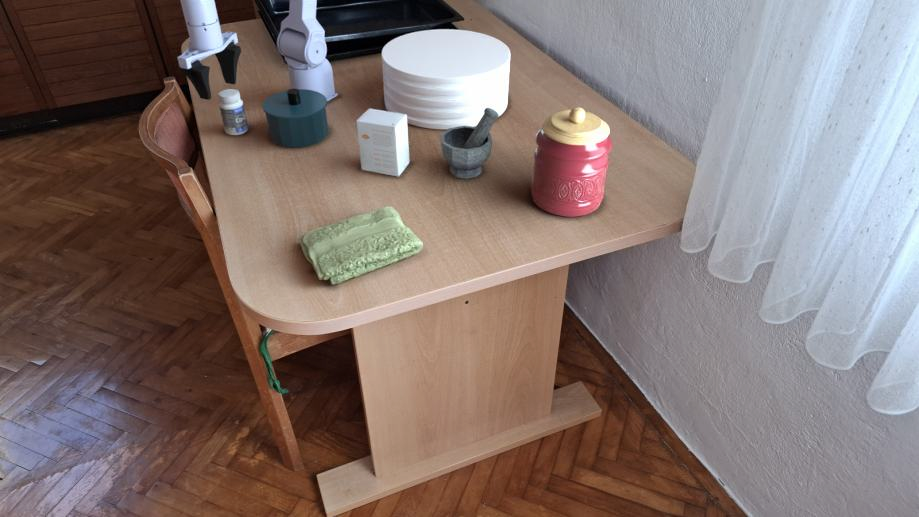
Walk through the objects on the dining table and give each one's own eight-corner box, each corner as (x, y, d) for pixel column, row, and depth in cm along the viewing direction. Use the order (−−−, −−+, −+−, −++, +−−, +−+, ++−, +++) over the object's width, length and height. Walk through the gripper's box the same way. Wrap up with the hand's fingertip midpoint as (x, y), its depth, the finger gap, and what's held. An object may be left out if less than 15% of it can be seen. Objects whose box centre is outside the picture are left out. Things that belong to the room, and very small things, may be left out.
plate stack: (482, 70, 164) (484, 24, 156) (526, 119, 143) (530, 68, 136) (372, 83, 156) (369, 36, 149) (402, 137, 136) (399, 85, 129)
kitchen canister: (584, 227, 112) (599, 134, 101) (517, 203, 117) (524, 113, 106) (613, 192, 120) (629, 103, 109) (549, 172, 126) (559, 85, 115)
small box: (410, 163, 128) (408, 113, 121) (398, 177, 124) (396, 127, 117) (372, 156, 130) (368, 107, 123) (360, 170, 125) (355, 119, 119)
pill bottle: (242, 136, 135) (234, 98, 130) (221, 134, 136) (212, 96, 131) (252, 126, 139) (244, 89, 134) (231, 124, 140) (223, 86, 134)
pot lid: (279, 91, 139) (276, 75, 137) (336, 97, 137) (334, 81, 135) (252, 118, 129) (248, 101, 127) (313, 125, 127) (311, 108, 125)
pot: (284, 118, 142) (279, 90, 138) (336, 124, 140) (333, 95, 136) (260, 144, 133) (255, 114, 129) (315, 150, 131) (311, 121, 127)
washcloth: (294, 244, 107) (292, 228, 105) (393, 215, 114) (392, 199, 112) (322, 291, 98) (320, 275, 96) (427, 256, 105) (427, 240, 103)
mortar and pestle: (450, 187, 121) (450, 128, 114) (433, 163, 128) (432, 106, 120) (505, 175, 125) (509, 117, 117) (485, 152, 131) (488, 96, 124)
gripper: (210, 6, 127) (225, 73, 135) (156, 30, 116) (176, 101, 125) (240, 11, 124) (253, 79, 133) (188, 36, 114) (206, 108, 122)
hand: (218, 90), depth 129 cm, fingers open, 7 cm apart
